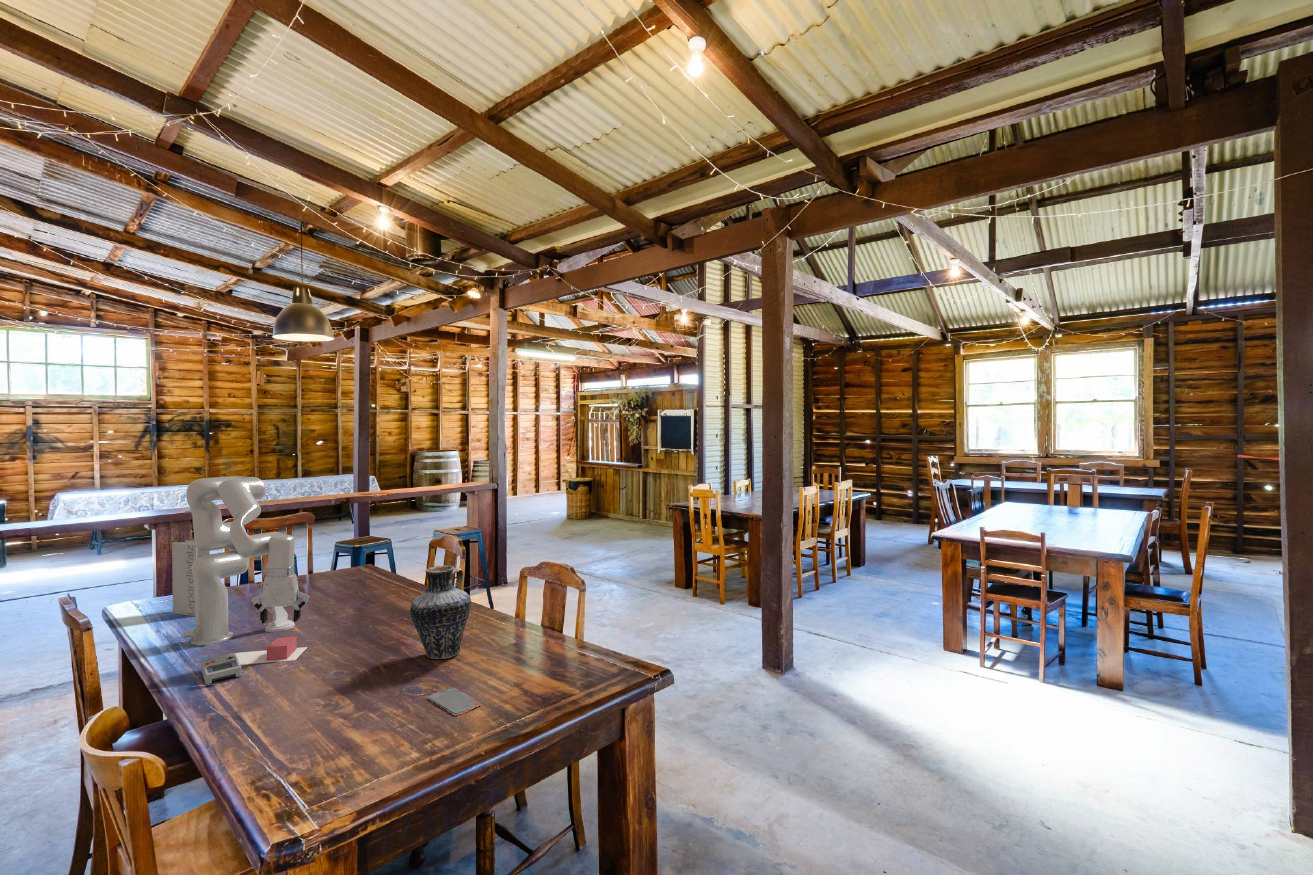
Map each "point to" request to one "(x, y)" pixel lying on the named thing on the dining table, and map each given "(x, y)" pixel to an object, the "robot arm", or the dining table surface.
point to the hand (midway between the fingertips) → (280, 621)
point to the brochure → (184, 576)
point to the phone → (452, 700)
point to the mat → (264, 656)
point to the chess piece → (279, 620)
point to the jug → (441, 612)
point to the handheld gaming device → (221, 667)
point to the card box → (281, 648)
